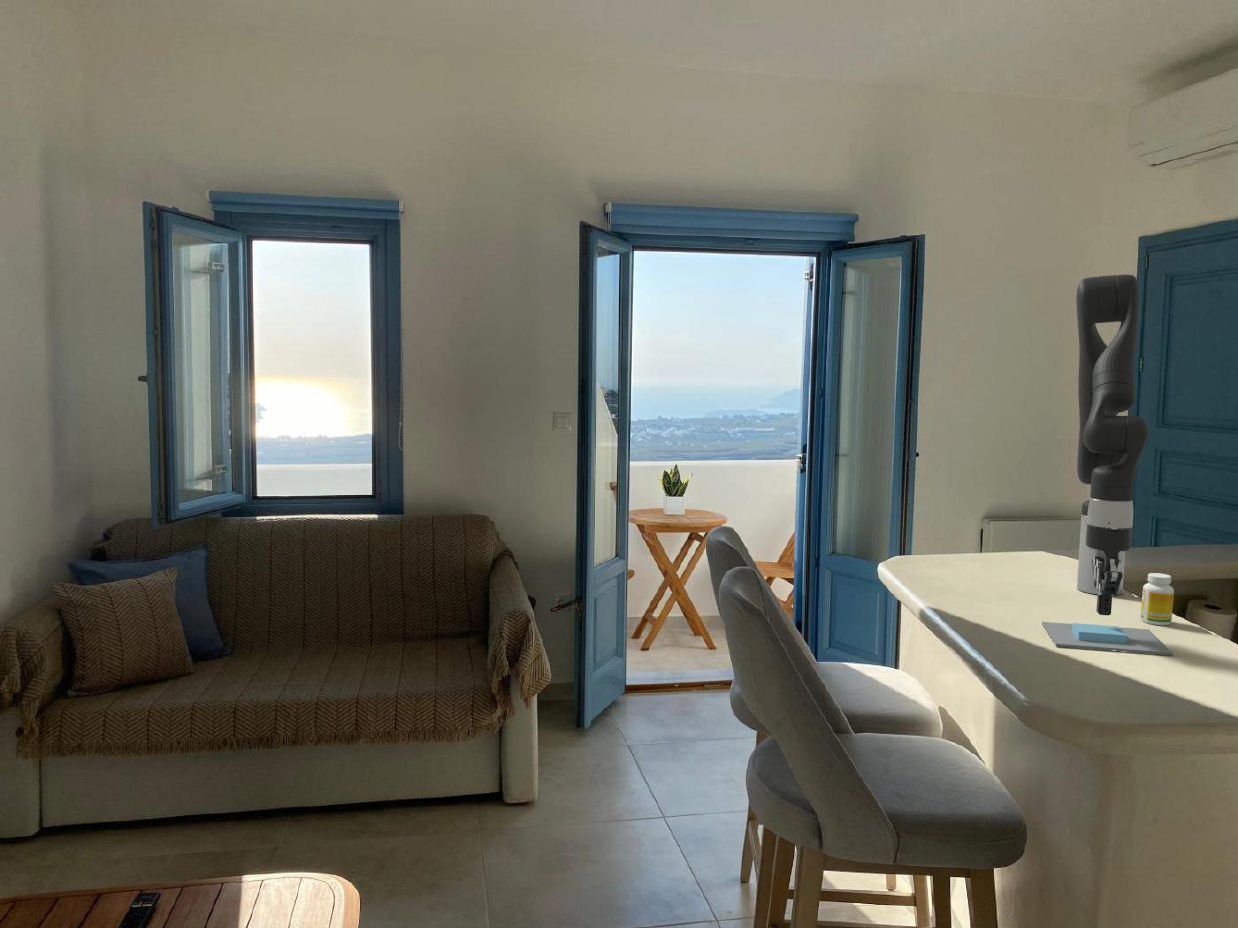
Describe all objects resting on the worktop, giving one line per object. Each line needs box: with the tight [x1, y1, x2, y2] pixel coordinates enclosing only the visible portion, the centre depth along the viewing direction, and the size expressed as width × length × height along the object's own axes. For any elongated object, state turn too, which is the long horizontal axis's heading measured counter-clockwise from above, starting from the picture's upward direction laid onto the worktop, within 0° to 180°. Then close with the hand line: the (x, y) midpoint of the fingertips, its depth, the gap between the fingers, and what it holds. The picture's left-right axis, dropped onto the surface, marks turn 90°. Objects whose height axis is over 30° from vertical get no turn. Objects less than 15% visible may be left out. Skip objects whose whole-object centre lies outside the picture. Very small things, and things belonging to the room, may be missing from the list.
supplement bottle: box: [1140, 572, 1175, 626], centre depth 188 cm, size 5×5×10 cm
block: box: [1071, 622, 1127, 644], centre depth 175 cm, size 2×8×6 cm
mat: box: [1041, 621, 1174, 656], centre depth 176 cm, size 15×19×1 cm
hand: (1103, 614), depth 176 cm, fingers closed
